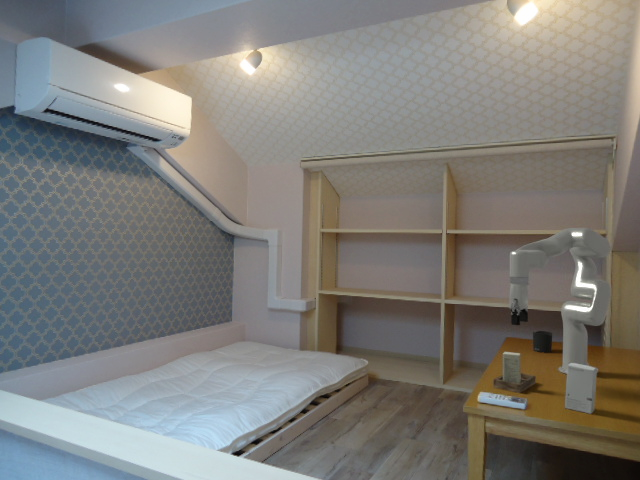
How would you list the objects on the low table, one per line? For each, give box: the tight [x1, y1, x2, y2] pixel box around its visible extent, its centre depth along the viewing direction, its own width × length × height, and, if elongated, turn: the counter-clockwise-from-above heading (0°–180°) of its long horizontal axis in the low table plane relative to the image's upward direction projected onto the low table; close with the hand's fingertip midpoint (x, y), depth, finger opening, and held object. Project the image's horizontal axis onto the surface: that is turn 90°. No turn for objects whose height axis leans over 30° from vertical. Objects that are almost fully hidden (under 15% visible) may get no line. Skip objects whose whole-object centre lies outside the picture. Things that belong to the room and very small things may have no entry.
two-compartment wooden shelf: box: [493, 372, 536, 394], centre depth 186 cm, size 10×18×3 cm, turn 138°
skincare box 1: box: [502, 351, 522, 384], centre depth 183 cm, size 6×4×12 cm
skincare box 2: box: [564, 363, 598, 415], centre depth 160 cm, size 8×6×15 cm
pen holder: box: [532, 330, 553, 354], centre depth 251 cm, size 9×9×10 cm
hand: (519, 323), depth 191 cm, fingers open, 9 cm apart
